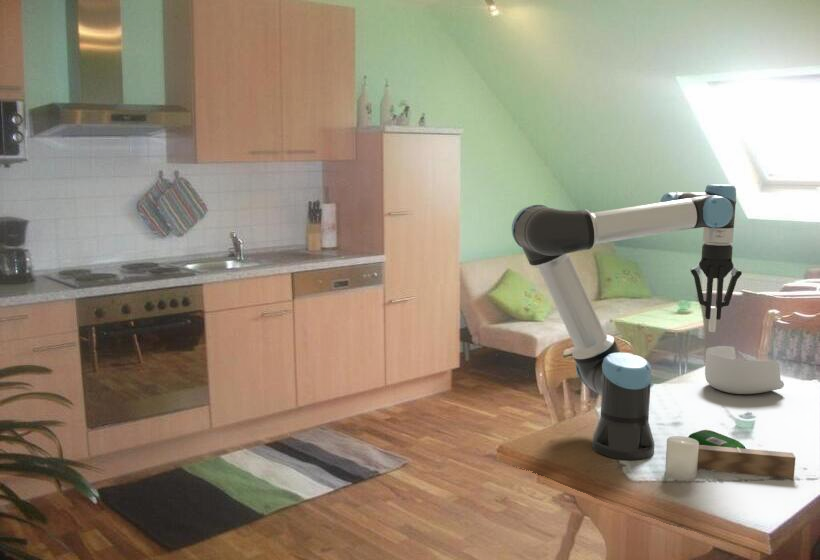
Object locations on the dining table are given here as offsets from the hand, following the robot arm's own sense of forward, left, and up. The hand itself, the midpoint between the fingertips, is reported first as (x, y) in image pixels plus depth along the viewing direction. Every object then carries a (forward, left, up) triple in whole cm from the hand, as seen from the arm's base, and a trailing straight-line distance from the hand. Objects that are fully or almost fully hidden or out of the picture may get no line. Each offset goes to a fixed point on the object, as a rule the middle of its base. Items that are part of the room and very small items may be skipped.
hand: (711, 331), depth 220 cm
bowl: (+13, +39, -27) cm, 49 cm away
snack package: (0, -23, -27) cm, 35 cm away
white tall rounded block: (-9, -37, -27) cm, 46 cm away
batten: (+5, -32, -26) cm, 41 cm away
